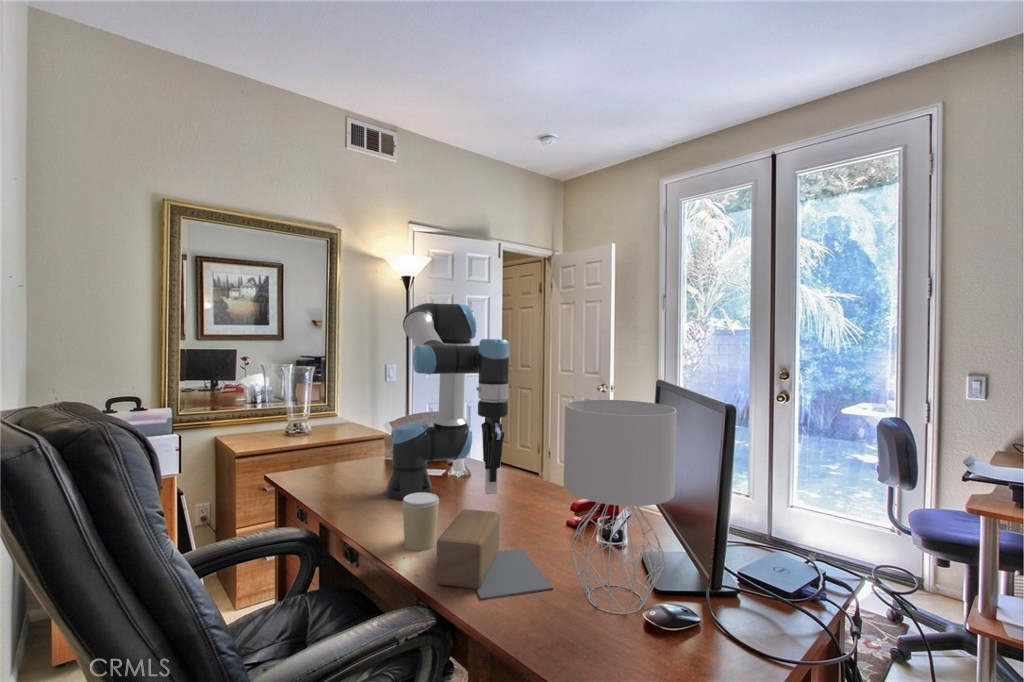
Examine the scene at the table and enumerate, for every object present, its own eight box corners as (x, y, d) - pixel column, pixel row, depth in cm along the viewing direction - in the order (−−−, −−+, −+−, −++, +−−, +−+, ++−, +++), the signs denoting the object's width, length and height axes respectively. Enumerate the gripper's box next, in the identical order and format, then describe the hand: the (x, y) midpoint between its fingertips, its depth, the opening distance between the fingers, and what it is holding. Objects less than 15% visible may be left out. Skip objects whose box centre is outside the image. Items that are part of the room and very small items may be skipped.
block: (499, 550, 122) (480, 591, 103) (461, 546, 124) (434, 585, 105) (500, 510, 122) (480, 543, 103) (461, 507, 124) (435, 539, 104)
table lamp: (561, 569, 114) (564, 398, 114) (659, 576, 112) (663, 401, 111) (560, 626, 92) (565, 412, 91) (684, 636, 89) (689, 417, 89)
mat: (460, 557, 119) (460, 555, 119) (522, 549, 124) (522, 548, 124) (480, 600, 100) (480, 598, 100) (553, 589, 105) (553, 587, 105)
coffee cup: (444, 539, 129) (445, 494, 129) (427, 554, 120) (428, 505, 120) (413, 534, 132) (414, 490, 132) (394, 548, 123) (395, 500, 123)
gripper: (472, 397, 129) (470, 486, 129) (485, 404, 116) (482, 503, 116) (500, 396, 131) (498, 484, 131) (515, 403, 118) (513, 500, 119)
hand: (491, 493), depth 124 cm, fingers closed
